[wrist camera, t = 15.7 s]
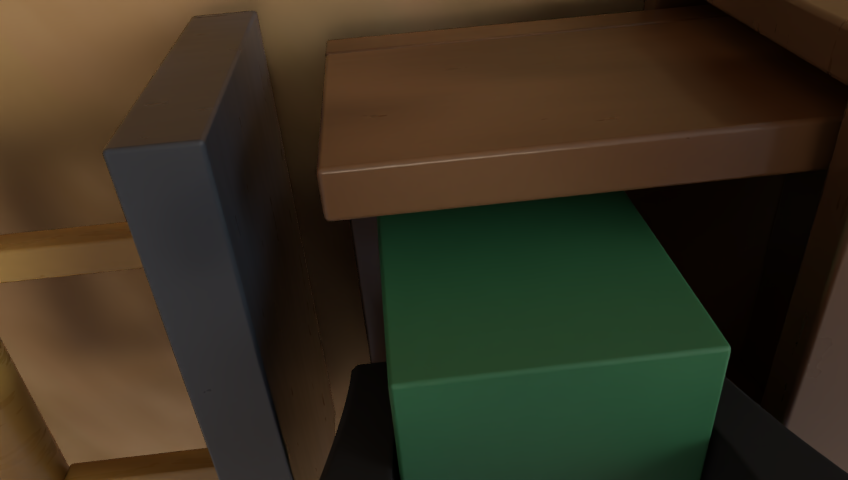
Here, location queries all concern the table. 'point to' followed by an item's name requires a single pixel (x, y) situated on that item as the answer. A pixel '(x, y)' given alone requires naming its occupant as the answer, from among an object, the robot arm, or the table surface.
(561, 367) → the snack box
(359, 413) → the robot arm
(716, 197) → the drawer
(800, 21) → the cabinet
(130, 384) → the table surface
